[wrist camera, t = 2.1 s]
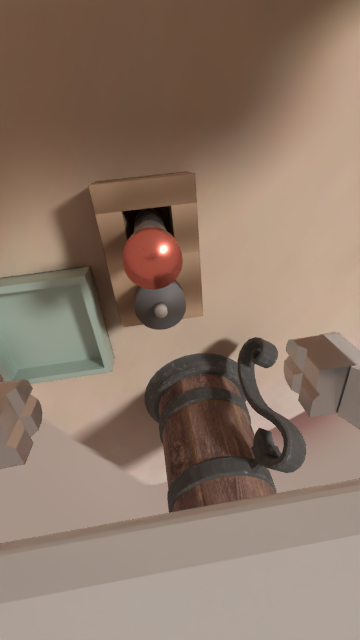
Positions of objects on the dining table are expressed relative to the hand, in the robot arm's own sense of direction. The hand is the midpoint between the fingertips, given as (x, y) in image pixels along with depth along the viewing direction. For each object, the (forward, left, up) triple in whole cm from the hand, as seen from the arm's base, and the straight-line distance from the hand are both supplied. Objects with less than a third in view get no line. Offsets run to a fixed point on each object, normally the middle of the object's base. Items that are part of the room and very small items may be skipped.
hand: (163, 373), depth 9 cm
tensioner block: (+2, 0, -24) cm, 24 cm away
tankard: (+24, +6, -25) cm, 35 cm away
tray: (+10, -14, -24) cm, 30 cm away
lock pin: (0, 0, -24) cm, 24 cm away
